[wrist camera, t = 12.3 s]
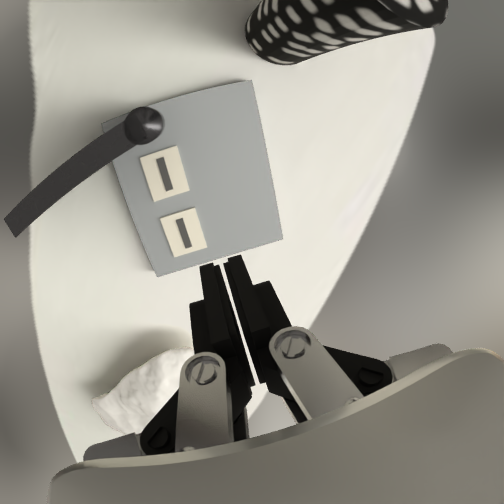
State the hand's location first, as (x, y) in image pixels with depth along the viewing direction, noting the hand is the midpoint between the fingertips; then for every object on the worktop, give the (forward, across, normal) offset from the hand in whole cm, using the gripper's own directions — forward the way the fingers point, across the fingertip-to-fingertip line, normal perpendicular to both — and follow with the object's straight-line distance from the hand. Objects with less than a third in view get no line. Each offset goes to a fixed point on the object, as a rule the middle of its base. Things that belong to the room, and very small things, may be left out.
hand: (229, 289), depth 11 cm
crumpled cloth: (+20, +19, +34) cm, 44 cm away
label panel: (+21, 0, +1) cm, 21 cm away
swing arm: (+18, +11, -5) cm, 22 cm away
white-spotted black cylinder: (+22, -12, -14) cm, 29 cm away
